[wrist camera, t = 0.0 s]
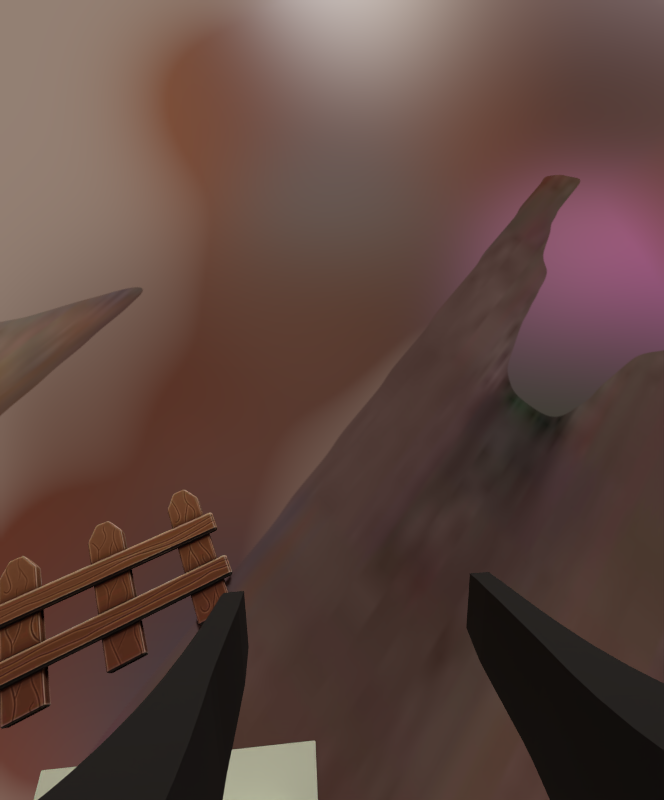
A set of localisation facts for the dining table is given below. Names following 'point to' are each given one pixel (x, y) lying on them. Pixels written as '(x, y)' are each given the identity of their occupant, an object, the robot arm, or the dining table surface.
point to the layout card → (249, 773)
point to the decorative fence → (101, 603)
